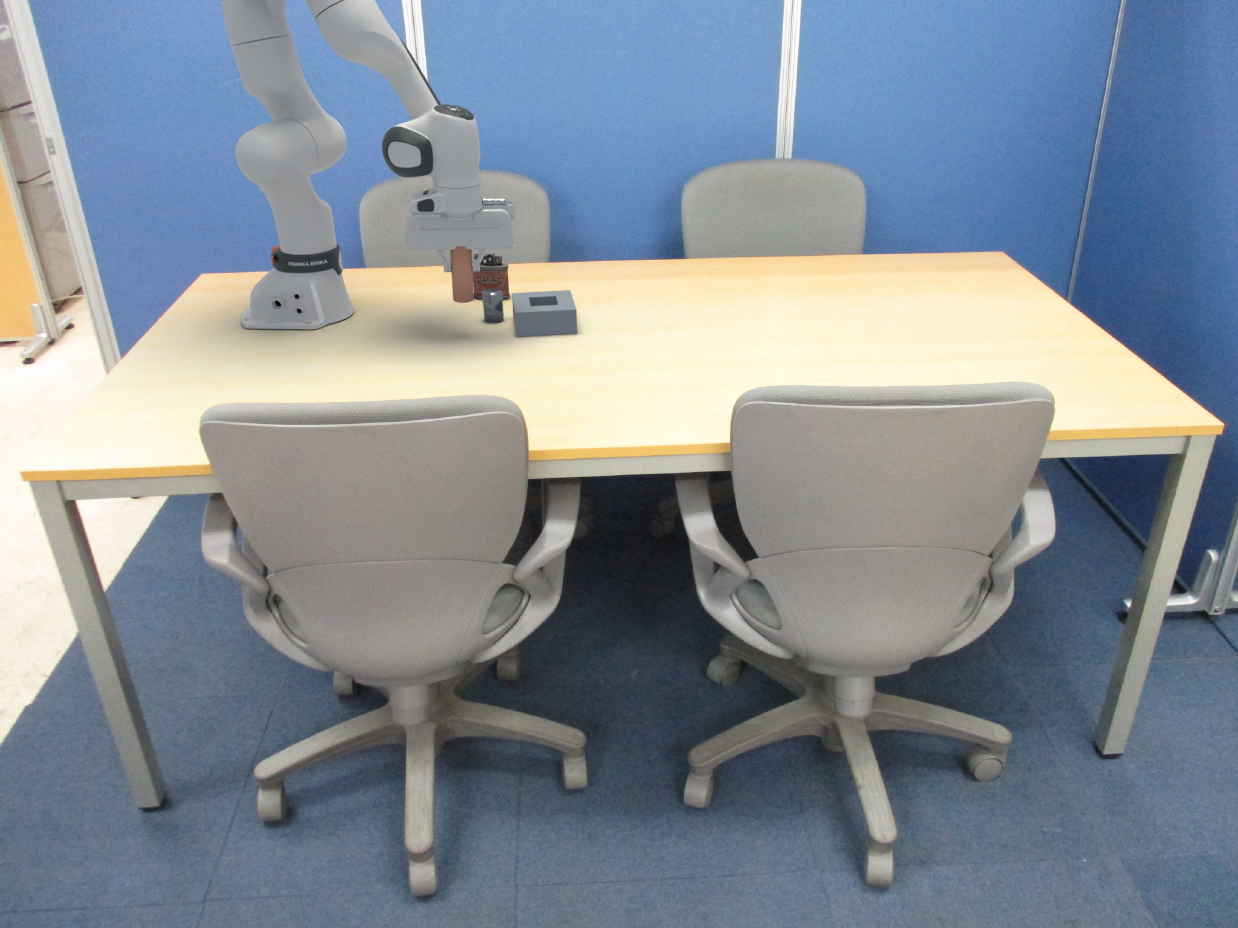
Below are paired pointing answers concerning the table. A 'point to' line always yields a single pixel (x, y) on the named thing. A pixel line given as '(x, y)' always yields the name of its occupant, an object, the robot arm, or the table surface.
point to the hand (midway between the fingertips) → (461, 271)
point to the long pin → (462, 274)
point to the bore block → (544, 313)
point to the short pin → (493, 305)
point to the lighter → (491, 276)
